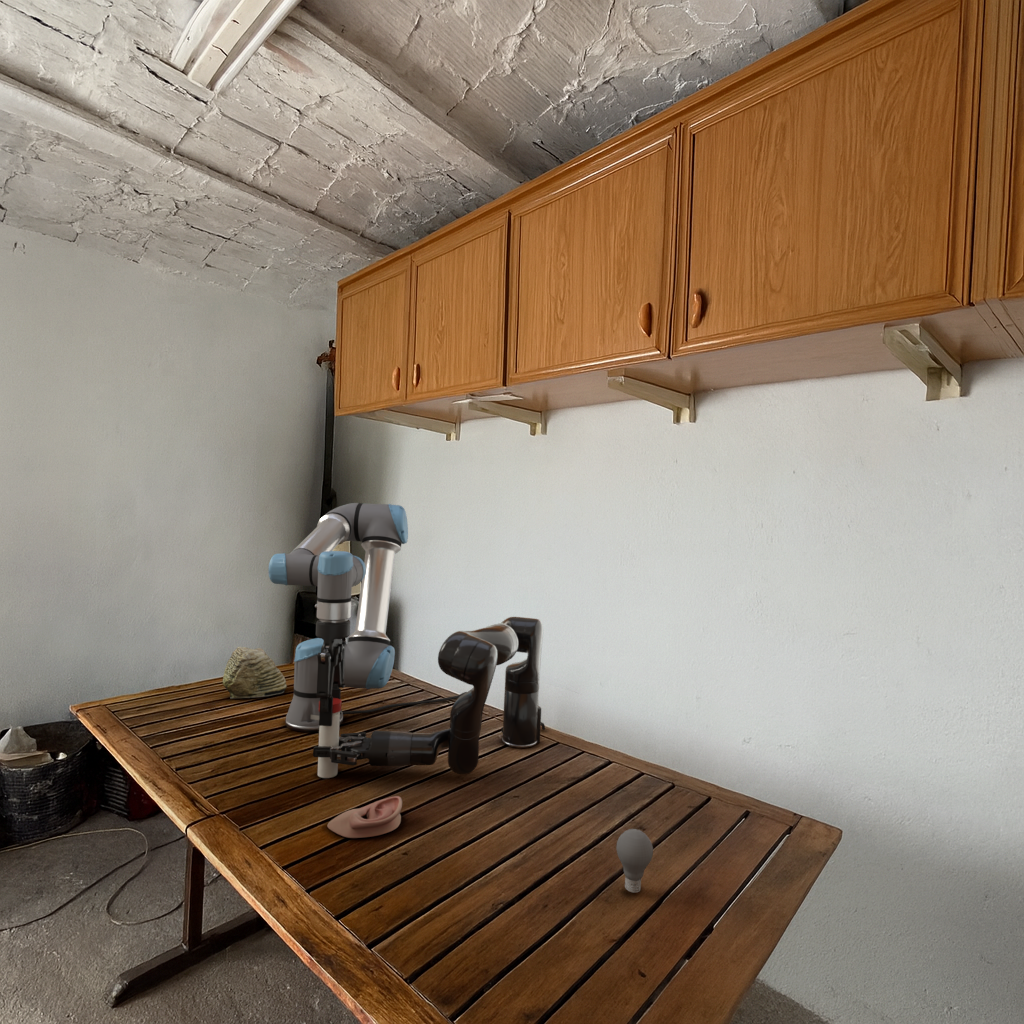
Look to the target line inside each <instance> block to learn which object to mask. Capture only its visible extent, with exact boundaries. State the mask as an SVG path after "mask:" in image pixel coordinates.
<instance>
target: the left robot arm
mask: <svg viewBox="0 0 1024 1024" xmlns="http://www.w3.org/2000/svg"><path fill="white" fill-rule="evenodd" d="M408 525H409V524H408V517H407V512H406V509H405V507H404V506H402V505H400V504H392V503H387V504H386V503H361V502H351V503H346V504H343V505H340V506H337V507H335V508H333V509H331V510H329V511H328V512H327V513H325V514H323V516H321V518H319V520H318V522H317V525H316V527H315V528H314V529H313V530H312V531H311V532H310V533H309V534H308V535H307V536H306V537H305V538H304V539H303V540H302V541H301V542H300V543H299V544H298V545H297V546H296V547H294V549H293V550H292V551H291V552H289V553H286V552H282V553H274V554H273V555H272V556H271V558H270V560H269V563H268V577H269V580H270V582H271V583H272V584H275V585H282V586H301V587H304V586H306V587H317V594H316V595H317V596H316V603H315V605H314V608H315V609H316V619H318V620H317V621H316V623H315V636H316V637H315V638H311V639H307V640H304V641H302V642H300V643H298V644H297V645H296V648H295V655H294V660H293V662H294V672H293V695H292V696H293V697H292V699H291V702H290V704H289V708H288V711H287V713H286V715H285V726H286V728H287V729H289V730H291V731H294V732H295V731H296V732H301V733H316V732H318V733H319V726H332V713H333V698H338V699H341V693H342V689H344V688H349V689H352V688H353V689H366V690H370V689H382V688H384V687H385V686H386V685H387V684H388V682H389V681H390V678H391V675H392V672H393V668H394V663H395V657H396V656H395V655H396V650H395V647H394V646H392V645H391V639H390V638H389V637H388V635H387V634H386V632H387V626H388V617H389V607H390V599H391V592H392V591H391V590H392V582H393V574H394V568H395V567H394V565H395V558H396V555H397V554H398V553H400V551H401V550H402V545H405V544H407V543H408V539H409V526H408ZM345 542H360V543H361V547H362V549H363V550H364V551H365V556H364V561H363V559H362V558H360V557H359V556H358V555H353V554H352V553H351V552H349V551H343V550H335V548H336V547H337V546H338V545H341V544H343V543H345ZM359 584H360V591H359V599H358V607H357V612H356V613H357V614H356V621H355V628H354V632H352V633H351V620H350V618H351V617H352V592H353V591H352V589H353V587H356V586H358V585H359ZM343 639H347V641H346V640H343ZM467 692H468V691H463V692H462V693H460V694H458V695H453V696H449V697H443V698H437V699H427V700H417V701H410V702H409V701H408V702H401V703H392V704H387V705H383V706H380V707H375V708H370V709H362V710H361V709H359V710H347V711H345V710H344V711H343V709H342V708H341V711H340V723H339V726H340V725H342V723H343V722H344V715H355V714H357V715H358V714H369V713H375V712H378V711H383V710H385V709H391V708H398V707H406V706H416V705H423V704H424V705H425V704H426V705H427V704H434V703H441V702H446V701H451V700H457V699H458V698H459V697H461V696H462V695H463V694H465V693H467ZM319 701H320V712H319Z"/></svg>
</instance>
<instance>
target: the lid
mask: <svg viewBox="0 0 1024 1024" xmlns="http://www.w3.org/2000/svg"><path fill="white" fill-rule="evenodd" d="M342 702H343V701H342V699H341V698H340V699H338V698H333V713H337V712H339V711H341V709H342V705H343V704H342ZM319 712H320V701H319Z"/></svg>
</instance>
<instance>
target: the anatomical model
mask: <svg viewBox="0 0 1024 1024" xmlns="http://www.w3.org/2000/svg"><path fill="white" fill-rule="evenodd" d="M402 808H403V799H402V797H401V796H399V795H395V796H389V797H385V798H383V799H379V800H376V801H374V802H372V803H369V804H367V805H365V806H362V807H359V808H353V809H349V810H346V811H344V812H341V813H340V814H338V815H337V816H335V817H334V818H332V819H331V820H330V821H329V822H328V823H327V828H328V829H329V830H330V831H331V832H333V833H335V834H337V835H339V836H340V837H341V836H342V837H344V838H347V839H360V838H370V837H371V838H372V837H377V836H382V835H384V834H387V833H390V832H392V831H394V830H396V829H397V828H398V827H399V826H400V824H401V822H402V815H401V811H402Z"/></svg>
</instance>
